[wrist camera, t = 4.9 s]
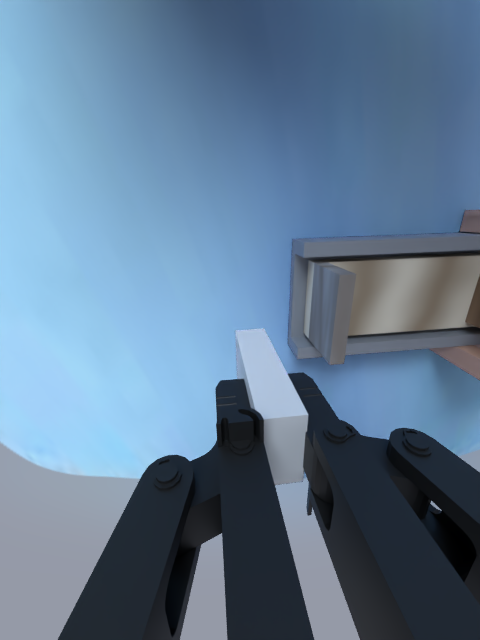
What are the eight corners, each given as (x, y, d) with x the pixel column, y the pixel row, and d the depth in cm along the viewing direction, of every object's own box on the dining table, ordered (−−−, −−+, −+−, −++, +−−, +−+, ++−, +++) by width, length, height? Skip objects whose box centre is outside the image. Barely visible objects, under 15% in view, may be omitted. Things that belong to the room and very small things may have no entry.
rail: (287, 343, 24) (297, 359, 21) (292, 238, 21) (304, 242, 18) (571, 322, 27) (610, 333, 24) (617, 226, 23) (668, 228, 21)
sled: (303, 332, 22) (336, 373, 17) (308, 260, 20) (348, 278, 14) (507, 318, 24) (599, 350, 18) (532, 250, 22) (646, 263, 16)
